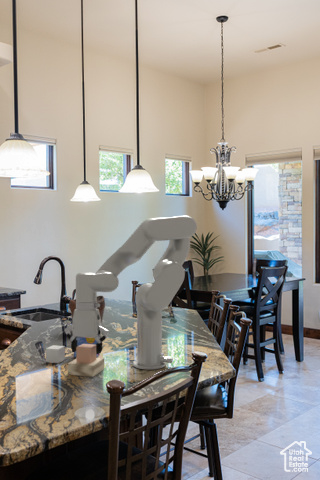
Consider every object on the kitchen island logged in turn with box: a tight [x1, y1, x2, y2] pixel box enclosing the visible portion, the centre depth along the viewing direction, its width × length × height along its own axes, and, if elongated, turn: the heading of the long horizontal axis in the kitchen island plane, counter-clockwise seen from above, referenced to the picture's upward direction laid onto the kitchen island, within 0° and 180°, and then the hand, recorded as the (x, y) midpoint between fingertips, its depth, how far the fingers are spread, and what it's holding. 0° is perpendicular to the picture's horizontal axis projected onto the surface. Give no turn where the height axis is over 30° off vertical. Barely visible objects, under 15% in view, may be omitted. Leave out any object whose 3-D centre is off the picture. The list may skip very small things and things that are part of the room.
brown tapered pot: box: [68, 295, 106, 325], centre depth 246 cm, size 18×20×18 cm
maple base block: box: [67, 357, 105, 377], centre depth 177 cm, size 10×10×4 cm
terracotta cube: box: [75, 344, 96, 363], centre depth 177 cm, size 6×6×6 cm
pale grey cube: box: [45, 344, 66, 364], centre depth 192 cm, size 6×6×6 cm
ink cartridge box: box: [73, 337, 101, 358], centre depth 199 cm, size 10×6×14 cm, turn 85°
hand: (86, 352), depth 177 cm, fingers open, 9 cm apart
